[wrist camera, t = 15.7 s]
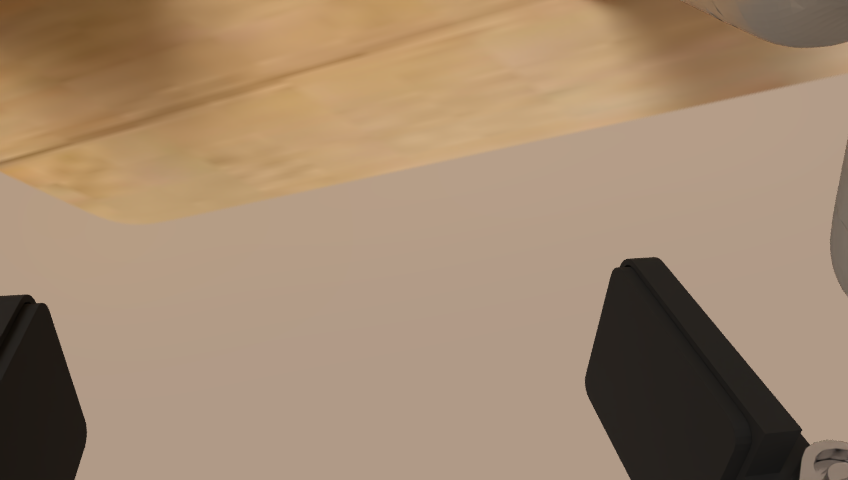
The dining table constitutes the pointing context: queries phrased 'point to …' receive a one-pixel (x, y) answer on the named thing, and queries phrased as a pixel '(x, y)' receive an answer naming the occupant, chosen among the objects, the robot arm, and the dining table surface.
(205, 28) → the dining table surface
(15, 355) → the robot arm
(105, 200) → the dining table surface
